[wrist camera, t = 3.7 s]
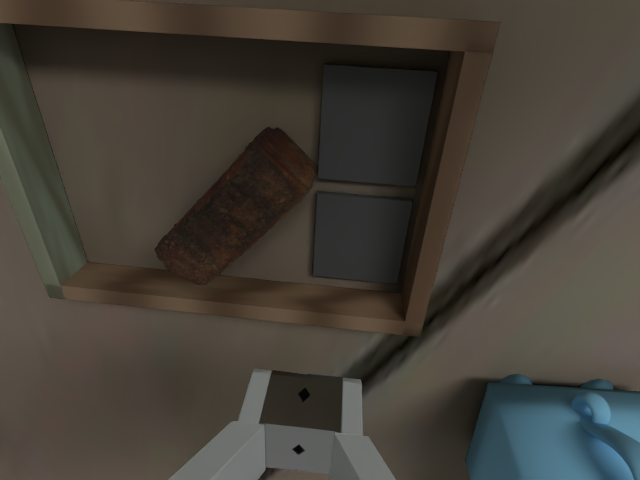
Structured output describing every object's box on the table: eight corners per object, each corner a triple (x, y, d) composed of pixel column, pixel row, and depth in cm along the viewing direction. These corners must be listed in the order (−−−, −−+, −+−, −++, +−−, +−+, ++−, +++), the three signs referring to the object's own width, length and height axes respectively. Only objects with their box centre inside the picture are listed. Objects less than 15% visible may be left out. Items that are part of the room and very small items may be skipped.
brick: (273, 118, 22) (253, 138, 18) (320, 165, 23) (311, 195, 19) (175, 223, 26) (141, 259, 22) (219, 259, 27) (194, 299, 23)
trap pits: (436, 71, 20) (437, 71, 19) (396, 280, 26) (396, 284, 26) (324, 63, 20) (323, 64, 20) (313, 272, 27) (312, 275, 26)
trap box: (480, 22, 18) (500, 21, 16) (414, 307, 28) (419, 336, 25) (-19, -6, 20) (-76, -12, 17) (77, 273, 29) (49, 297, 26)
